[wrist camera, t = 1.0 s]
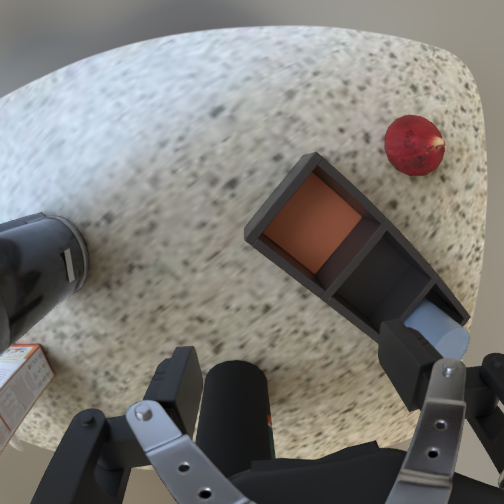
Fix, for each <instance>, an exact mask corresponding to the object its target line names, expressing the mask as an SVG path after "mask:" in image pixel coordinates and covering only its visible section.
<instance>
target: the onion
mask: <svg viewBox="0 0 504 504" xmlns="http://www.w3.org/2000/svg"><path fill="white" fill-rule="evenodd" d="M444 146H445V141H444V139H443V138H442V136H441V133H440V131H439V130H438V129H437V127H436V126H435V125H434V124H433V123H432V122H430V121H428V120H427V119H425V118H424V117H421V116H416V115H405V116H403V117H400V118H398V119H396V120H395V121H394V122H393V123H392V124H391V125H390V126H389V127H388V130H387V133H386V135H385V151H386V154H387V157H388V160H389V161H390V162H391V164H392V165H393V166H394V167H395V168H396V170H398V171H400V172H403V173H405V174H407V175H409V176H423V175H427V174H429V173H430V172H432V171H434V170H436V169H437V167H438V166H439V164H440V163H441V161H442V159H443V156H444V152H445V147H444Z"/></svg>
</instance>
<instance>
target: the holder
mask: <svg viewBox="0 0 504 504" xmlns="http://www.w3.org/2000/svg"><path fill="white" fill-rule="evenodd" d="M244 240H245V241H246V242H247V243H249V244H250V245H252V246H253V247H254V248H255V249H257V250H258V251H259V252H260V253H262V254H263V255H264V256H266V257H267V258H268V259H270V260H271V261H272V262H273V263H275V264H276V265H277V266H279V267H280V268H281V269H283V270H284V271H285V272H286V273H288V274H289V275H290V276H292V277H293V278H294V279H296V280H297V281H298V282H299V283H301V284H302V285H303V286H305V287H306V288H307V289H309V290H310V291H311V292H312V293H314V294H315V295H316V296H318V297H319V298H320V299H321V300H323V301H324V302H325V303H327V304H328V305H329V306H331V307H332V308H333V309H334V310H336V311H337V312H338V313H340V314H341V315H342V316H344V317H345V318H346V319H347V320H349V321H350V322H351V323H353V324H354V325H355V326H356V327H358V328H359V329H360V330H362V331H363V332H364V333H365V334H367V335H368V336H369V337H371V338H372V339H373V340H374V341H376V342H377V343H378V344H379V336H380V325H381V322H383V321H388V320H393V319H399V320H400V321H401V322H402V323H403V322H404V321H405V319H406V318H407V317H408V316H409V315H410V314H411V312H412V311H413V310H414V309H415V308H416V307H417V305H418V304H419V303H420V302H421V301H422V299H423V298H424V297H426V298H428V299H429V300H430V301H432V302H433V303H434V304H435V305H437V306H438V307H439V308H440V309H442V310H443V311H444V312H445V313H447V314H448V315H449V316H450V317H452V318H453V319H454V320H455V321H457V322H458V323H459V324H460V325H461V326H464V325H465V324H466V322H467V321H468V320H469V319H470V315H469V314H468V312H467V311H466V310H465V308H464V307H463V306H462V304H461V303H460V302H459V301H458V299H457V298H456V297H455V295H454V294H453V293H452V292H451V290H450V289H449V288H448V287H447V285H446V284H445V283H444V282H443V280H442V279H441V278H440V277H439V275H438V274H437V273H436V272H435V271H434V269H433V268H432V267H431V266H430V265H429V264H428V262H427V261H426V260H425V259H424V258H423V257H422V256H421V254H420V253H419V252H418V251H417V250H416V249H415V248H414V247H413V245H412V244H411V243H410V242H409V241H408V240H407V239H406V238H405V237H404V236H403V234H402V233H401V232H400V231H399V230H398V229H397V228H396V227H395V226H394V225H393V224H392V223H391V222H390V221H389V220H388V219H387V218H386V217H385V216H384V215H383V214H382V213H381V212H380V211H379V210H378V209H377V208H376V207H375V206H374V205H373V204H372V203H371V202H370V201H369V200H368V199H367V198H366V197H365V196H364V195H363V194H362V193H361V192H360V191H359V190H358V189H357V188H356V187H355V186H354V185H353V184H352V183H351V182H350V181H348V180H347V179H346V178H345V177H344V176H343V175H342V174H341V173H340V172H339V171H338V170H337V169H335V168H334V167H333V166H332V165H331V164H330V163H329V162H328V161H326V160H325V159H324V158H323V157H322V156H321V155H320V154H318V153H317V152H313V153H310V154H306V155H303V156H302V158H301V159H300V160H299V161H298V162H297V164H296V165H295V166H294V167H293V168H292V170H291V171H290V172H289V173H288V175H287V176H286V177H285V178H284V179H283V181H282V182H281V183H280V184H279V186H278V187H277V188H276V189H275V190H274V192H273V193H272V194H271V195H270V197H269V198H268V199H267V200H266V201H265V203H264V204H263V205H262V206H261V208H260V209H259V210H258V211H257V213H256V214H255V215H254V216H253V218H252V219H251V220H250V221H249V223H248V224H247V225H246V226H245V228H244Z"/></svg>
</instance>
